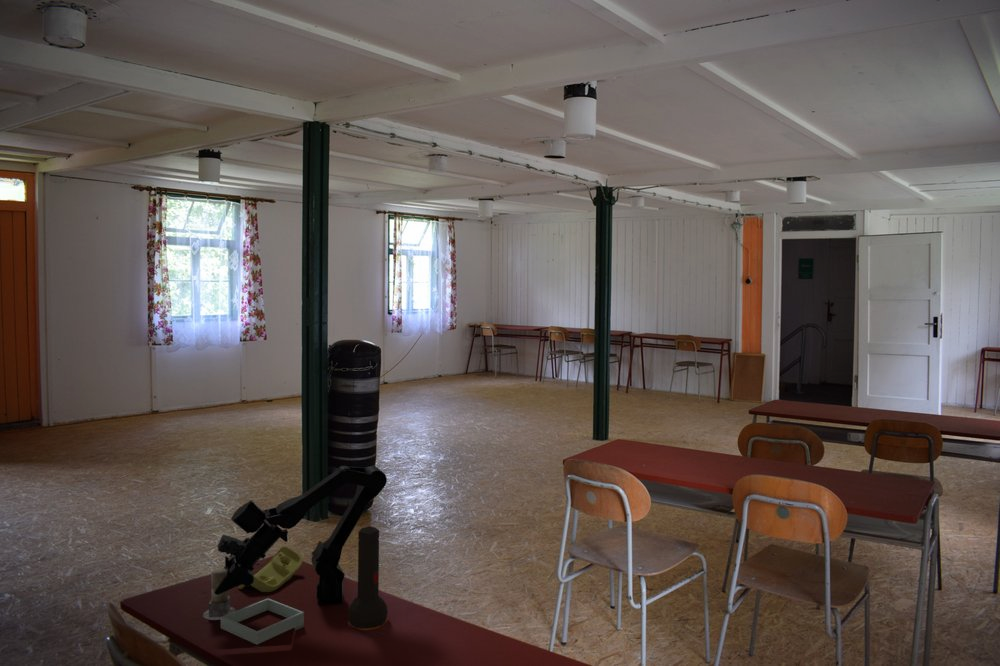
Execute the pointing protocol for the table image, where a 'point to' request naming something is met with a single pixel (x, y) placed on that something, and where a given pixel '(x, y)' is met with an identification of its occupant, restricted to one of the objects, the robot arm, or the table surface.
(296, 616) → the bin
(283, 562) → the plastic component
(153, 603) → the table surface
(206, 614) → the stud mount
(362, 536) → the flashlight
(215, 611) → the strut
